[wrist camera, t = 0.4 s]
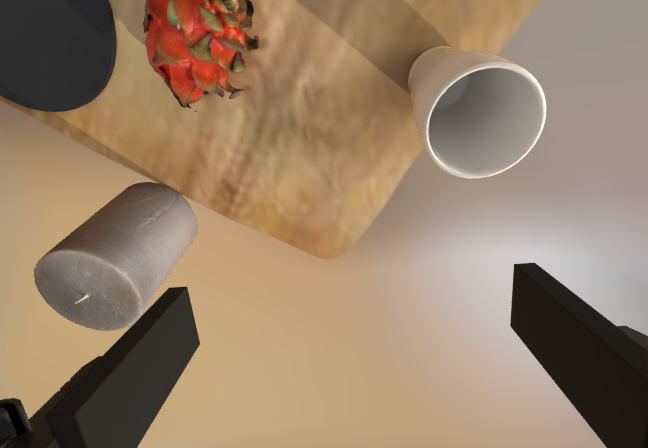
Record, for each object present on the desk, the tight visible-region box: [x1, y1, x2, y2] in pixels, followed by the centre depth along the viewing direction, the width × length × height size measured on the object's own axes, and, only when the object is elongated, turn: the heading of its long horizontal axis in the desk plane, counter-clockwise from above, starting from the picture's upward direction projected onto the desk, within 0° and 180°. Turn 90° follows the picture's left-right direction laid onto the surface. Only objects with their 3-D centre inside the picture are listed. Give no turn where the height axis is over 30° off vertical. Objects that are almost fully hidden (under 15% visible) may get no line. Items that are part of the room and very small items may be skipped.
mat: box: [0, 0, 116, 112], centre depth 33 cm, size 18×18×1 cm
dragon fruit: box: [143, 0, 259, 112], centre depth 30 cm, size 8×8×12 cm
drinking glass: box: [408, 46, 546, 178], centre depth 27 cm, size 7×7×15 cm
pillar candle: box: [34, 182, 197, 331], centre depth 38 cm, size 10×10×15 cm
